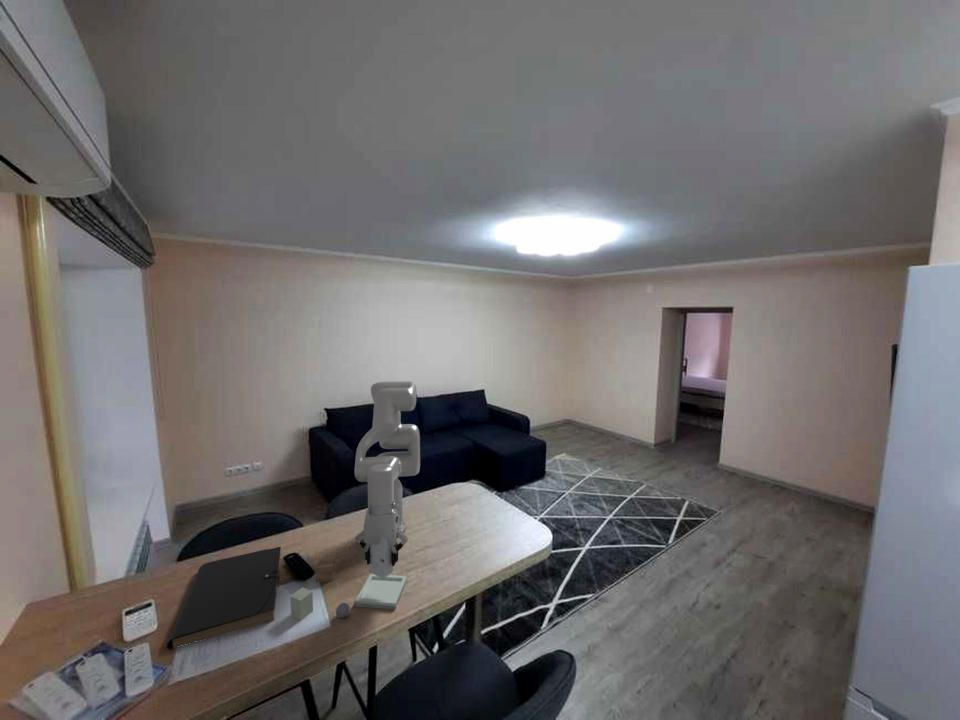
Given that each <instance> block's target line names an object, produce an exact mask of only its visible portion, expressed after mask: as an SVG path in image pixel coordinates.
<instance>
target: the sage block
mask: <svg viewBox="0 0 960 720" xmlns="http://www.w3.org/2000/svg"><path fill="white" fill-rule="evenodd" d="M289 597H290V617H293V619H296V620H298V621H300V622H301V621H303V620H304V619H305V618H307V616H309V615H310V614H312V613H313V612H314V601H313V600H314V599H313V591H312V590H310V589H307V588H305V587H301V588H300V589H298V590H297V591H296V592H294V593H293V594H291V595H290V596H289Z"/></svg>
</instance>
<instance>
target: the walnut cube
mask: <svg viewBox="0 0 960 720" xmlns="http://www.w3.org/2000/svg"><path fill="white" fill-rule="evenodd" d="M335 573H336V556H329V557H321V558H320V557H319V558H318V561H317V563H316V566H315V582H316V583H323V582H332V581H333V580H334V577H335Z"/></svg>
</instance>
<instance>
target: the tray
mask: <svg viewBox="0 0 960 720" xmlns="http://www.w3.org/2000/svg"><path fill="white" fill-rule="evenodd" d="M407 583H408V576H407V575H396V574H395V575H394V574H389V575H388V576H387V577H385V578H381V577H379V576H376V575H374V574H373V573H370V574H369V576H368V578H367V579H366V581H365V583H364V585H363V586H362V588H361V590H360V592H359V594H358V595H357V597H356V599H355V601H354V602H355V603H354V604H355V607H356V608H357V607H358V608H373V609H374V608H376V609H387V610H390V609H391V610H396V609H397V607H398V605H399V602H400V599H401V597H402V595H403V592H404V590H405V588H406V585H407Z"/></svg>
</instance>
